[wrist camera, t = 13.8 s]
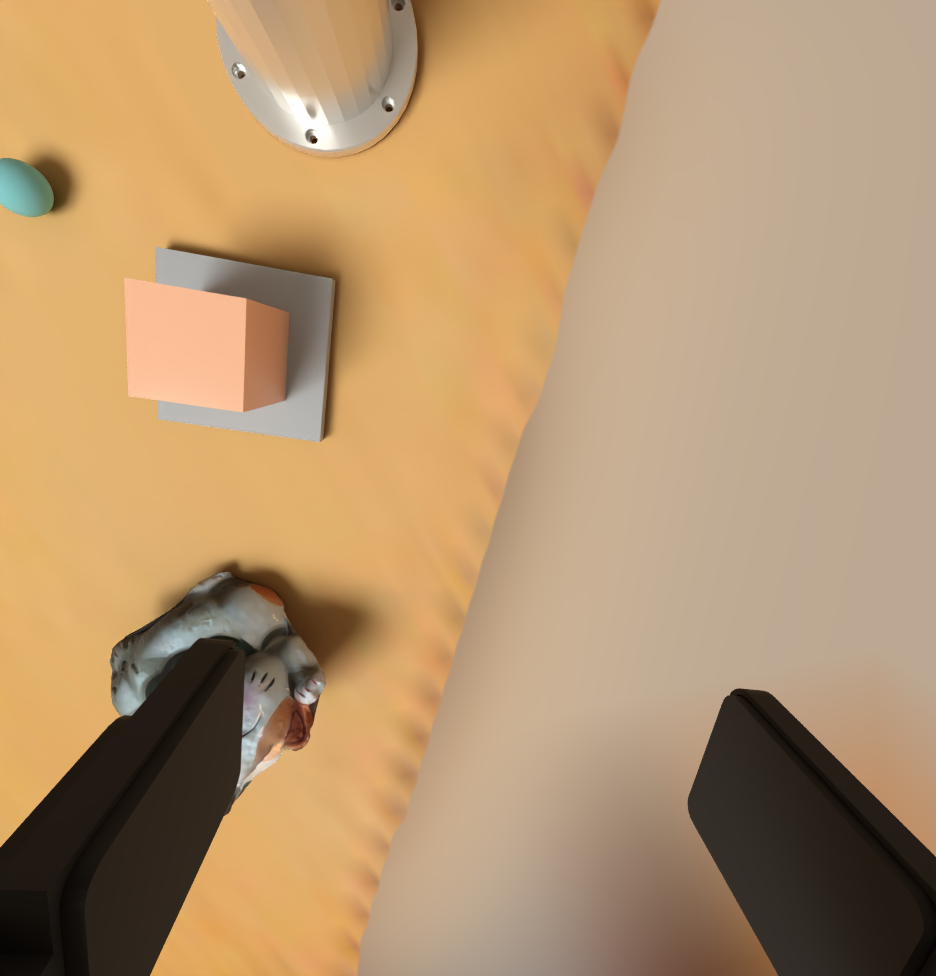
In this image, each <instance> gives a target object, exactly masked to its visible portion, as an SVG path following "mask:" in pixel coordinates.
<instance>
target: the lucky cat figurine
mask: <svg viewBox="0 0 936 976" xmlns="http://www.w3.org/2000/svg"><path fill="white" fill-rule="evenodd" d="M199 638H209V639H220V640H231V641H234V642H235V644H236V650H243V651H244V652H245V679H244V703H243V728H242V752H241V771H240V777H239V781H238V784H237V787H236V790H235V792H234V795H233V797H232V799H231V801H230V804H229V806H228V808H227V810H226V812H225V814H224V816H225V815H226V814H228V813H229V812H230V810H231V807H232V804H233V803H234V801H235V800H236V799H237V798H238V797H239V796H240V795H241V794H242V792H243V791H244V789H245V788H246V787H247V786H248V785H249V784H250V783H251V781H252V780H253V779H254V777H255V776H257V775H258V774H259V773H261V772H262V771H264V770H265V769H267V768H268V767H269V766H271V765H272V764H274V763H275V762H276V761H277V760H278V758H279V757H280V756H281V754H282V752H283V751H284V750H290V749H292V750H293V751H297V750H299V749H302V748H303V747H304V746H305V745H306V744H307V743H308V741H309V738H310V730H311V727H312V725H313V722H314V717H315V712H316V708H317V704H318V701H319V697H320V694H321V693H322V690H323V688H324V687H325V684H326V682H325V675H324V671H323V670H322V668H321V667H320V666H319V664H318V661H317V659H316V657H315V656H314V654H313V653H312V652H311V650H309V649H308V648H307V646H306V644H305V643H304V641H303V640H302V639H301V637H300V636H299V634H298V633H297V632H296V631H295V629H294V628H293V626H292V624H291V623H290V621H289V620H288V618H287V616H286V614H285V612H284V604H283V602H282V600H281V599H280V598H279V596H278V595H277V594H276V593H275V592H274V591H273V590H271V589H269V588H267V587H264V586H262V585H258V584H254V583H251V582H248V581H245V580H242V579H239V578H235V577H233V576H232V574H231V573H230V572H220V573H219V574H217V575H214V576H212V577H210V578H207V579H205V580H203V581H201V582H199V583H198V584H197V585H196V586H195V587H193V588H192V589H191V590H190V591H189V593H188V594H187V595H186V596H185V598H184V599H183V600H182V601H181V602H180V603H178V604H177V605H176V606H175V607H174V608H173V609H171V610H170V611H168V612H167V613H165V614H163V615H162V616H160V617H159V618H157V619H155V620H154V621H152V622H150V623H149V624H147V625H145V626H144V627H142V628H140V629H138V630H137V631H135V632H133V633H131V634H129V635H128V636H126V637H125V638H124V639H123V640H121V641H120V642H119V643H117V644H116V645H115V646H114V647H113V649H112V655H111V659H110V664H111V667H112V677H111V680H112V681H111V697H112V703H113V705H114V707H115V709H116V711H117V712H118V713H119V714H120V716H124V715H129V716H132V715H133V714H134V713H135V711H136V710H137V709H138V708H139V707H140V706H141V704H142V703H143V702H144V701H145V700H146V699H147V697H148V696H149V695H150V694H151V693H152V692H153V690H154V689H155V688H156V687H157V686H158V685H159V683H160V682H161V681H162V680H163V679H164V677H165V676H166V675H167V674H168V673H169V672H170V670H171V669H172V668H173V667H174V666H175V665H176V663H177V662H178V661H179V660H180V659H181V658H182V656H183V655H184V654H185V653H186V652H187V651H188V649H189V648H190V647H191V646H192V645H193V643H194V642H195V641H196V640H198V639H199Z"/></svg>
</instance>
